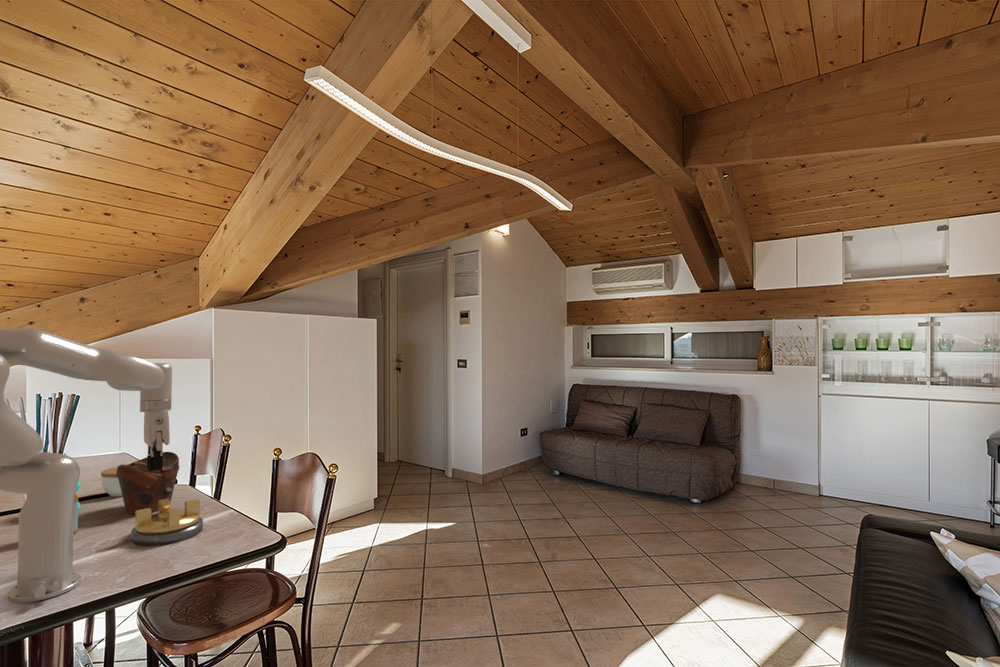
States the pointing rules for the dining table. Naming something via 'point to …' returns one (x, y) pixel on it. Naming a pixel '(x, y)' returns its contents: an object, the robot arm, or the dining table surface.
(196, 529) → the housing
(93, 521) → the dining table surface
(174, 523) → the gold crown turntable
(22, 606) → the dining table surface
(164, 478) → the brown chunky piece
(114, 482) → the lidded bowl
